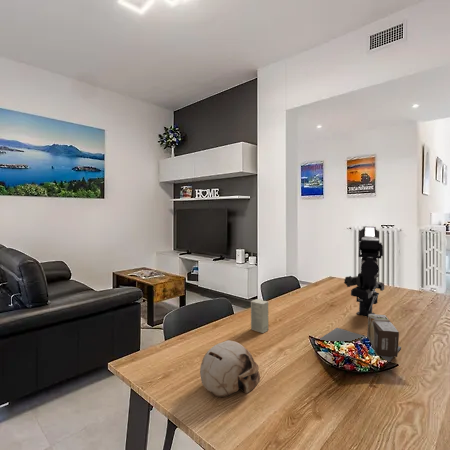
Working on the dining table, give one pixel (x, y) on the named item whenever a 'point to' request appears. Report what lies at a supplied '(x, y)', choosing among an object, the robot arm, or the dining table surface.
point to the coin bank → (229, 369)
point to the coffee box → (383, 335)
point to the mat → (347, 338)
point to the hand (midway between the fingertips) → (367, 310)
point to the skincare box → (259, 315)
